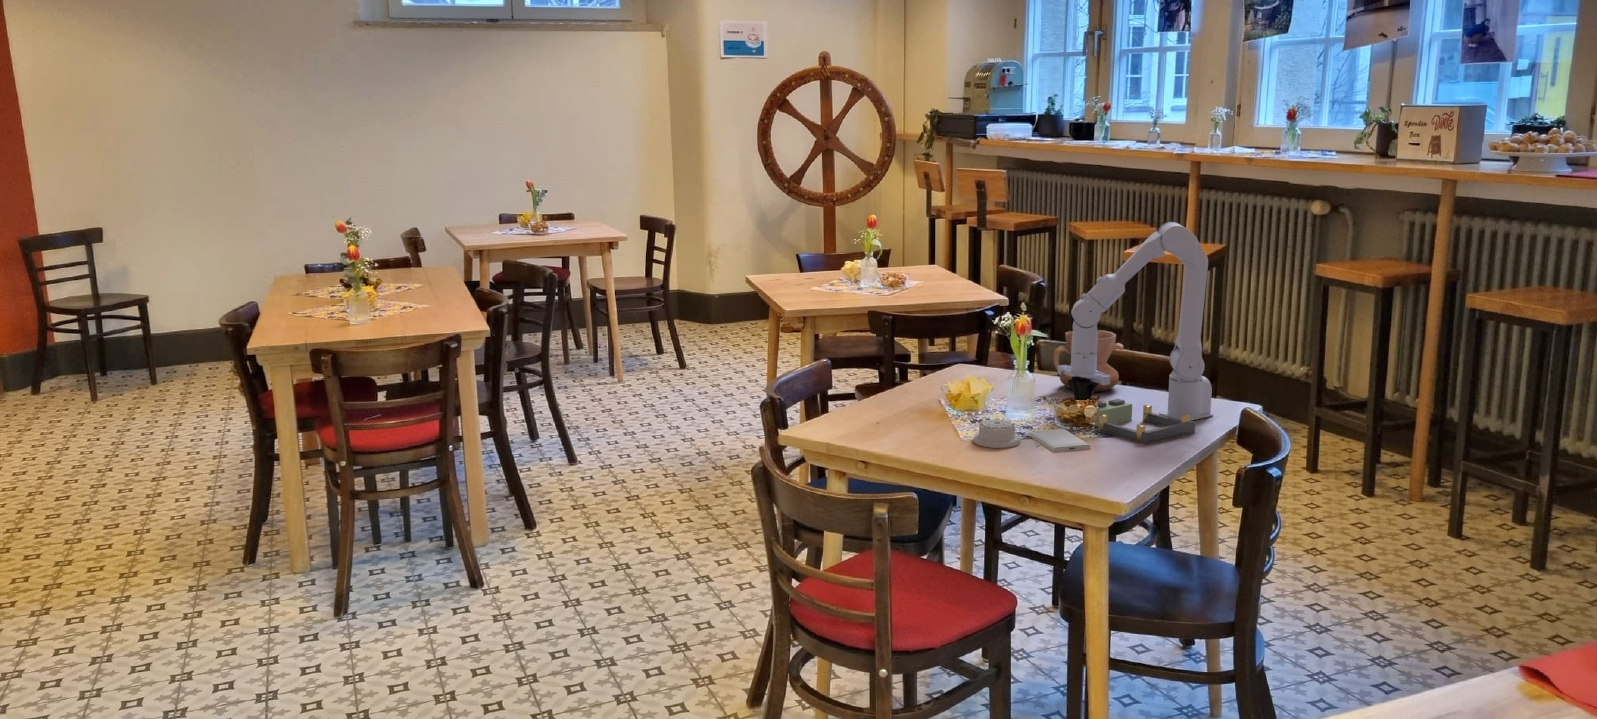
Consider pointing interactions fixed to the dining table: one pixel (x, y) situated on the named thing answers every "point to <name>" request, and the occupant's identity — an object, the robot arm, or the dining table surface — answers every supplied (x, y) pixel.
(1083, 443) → the hard drive
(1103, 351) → the ceramic jug
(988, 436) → the gray cake
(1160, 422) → the tray
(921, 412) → the dining table surface
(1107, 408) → the green block
